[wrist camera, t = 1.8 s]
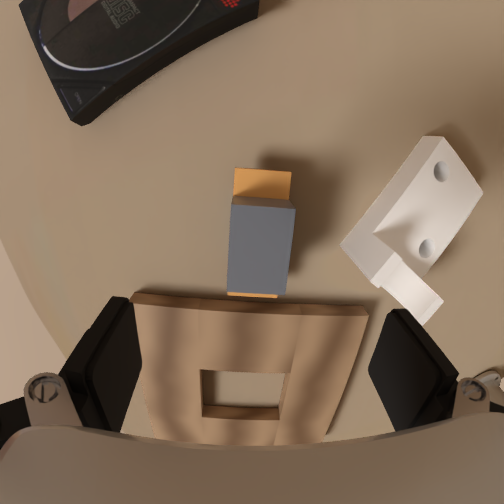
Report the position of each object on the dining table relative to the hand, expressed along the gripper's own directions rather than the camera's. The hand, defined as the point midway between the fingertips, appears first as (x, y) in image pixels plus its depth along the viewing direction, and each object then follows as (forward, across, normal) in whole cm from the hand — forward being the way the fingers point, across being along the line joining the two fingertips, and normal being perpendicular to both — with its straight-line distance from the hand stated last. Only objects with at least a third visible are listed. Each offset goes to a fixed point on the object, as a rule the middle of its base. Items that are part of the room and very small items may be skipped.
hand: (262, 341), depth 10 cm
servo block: (+16, -1, 0) cm, 16 cm away
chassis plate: (+15, -1, +18) cm, 24 cm away
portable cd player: (+17, +12, -20) cm, 29 cm away
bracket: (+16, -14, -2) cm, 22 cm away
